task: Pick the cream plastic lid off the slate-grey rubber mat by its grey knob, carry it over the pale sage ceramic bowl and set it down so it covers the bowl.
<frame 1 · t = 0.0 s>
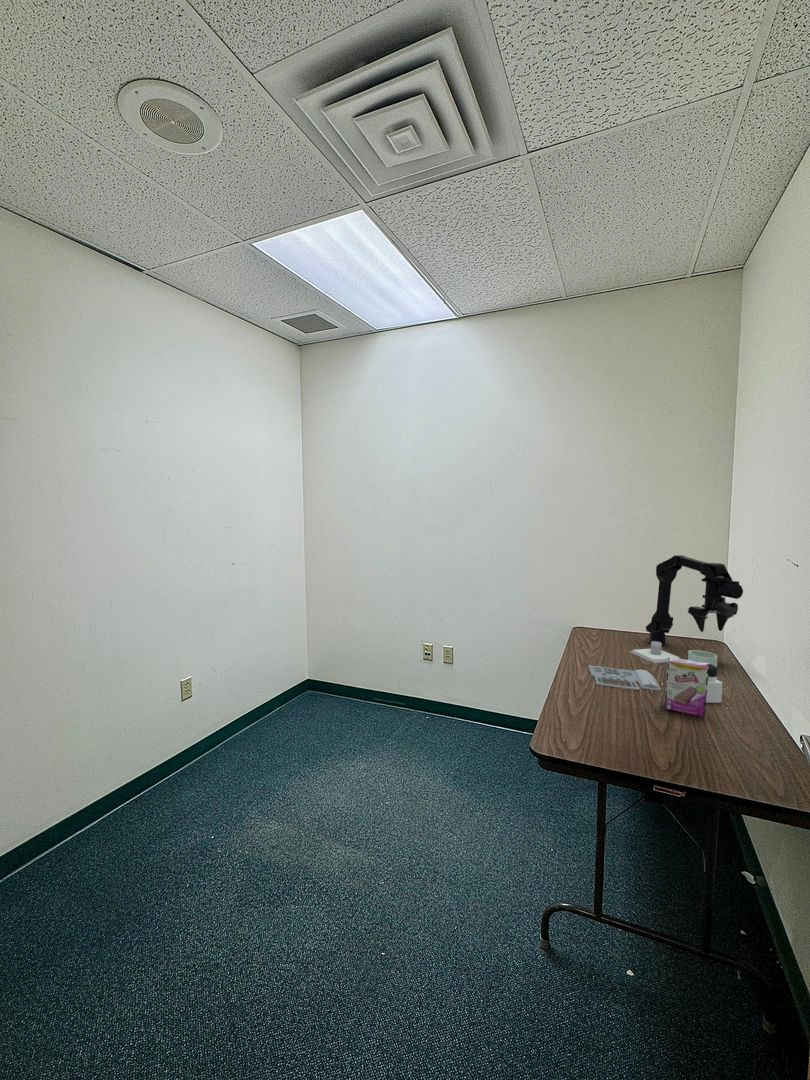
hand: (711, 631, 185), 15 cm above the table, fingers open, 9 cm apart
lid: (655, 655, 196), resting on mat
candy bar box: (684, 712, 144), on the table
bowl: (701, 665, 186), on the table
mat: (655, 657, 196), on the table
medicine bottle: (704, 699, 154), on the table
office telephone: (623, 681, 170), on the table
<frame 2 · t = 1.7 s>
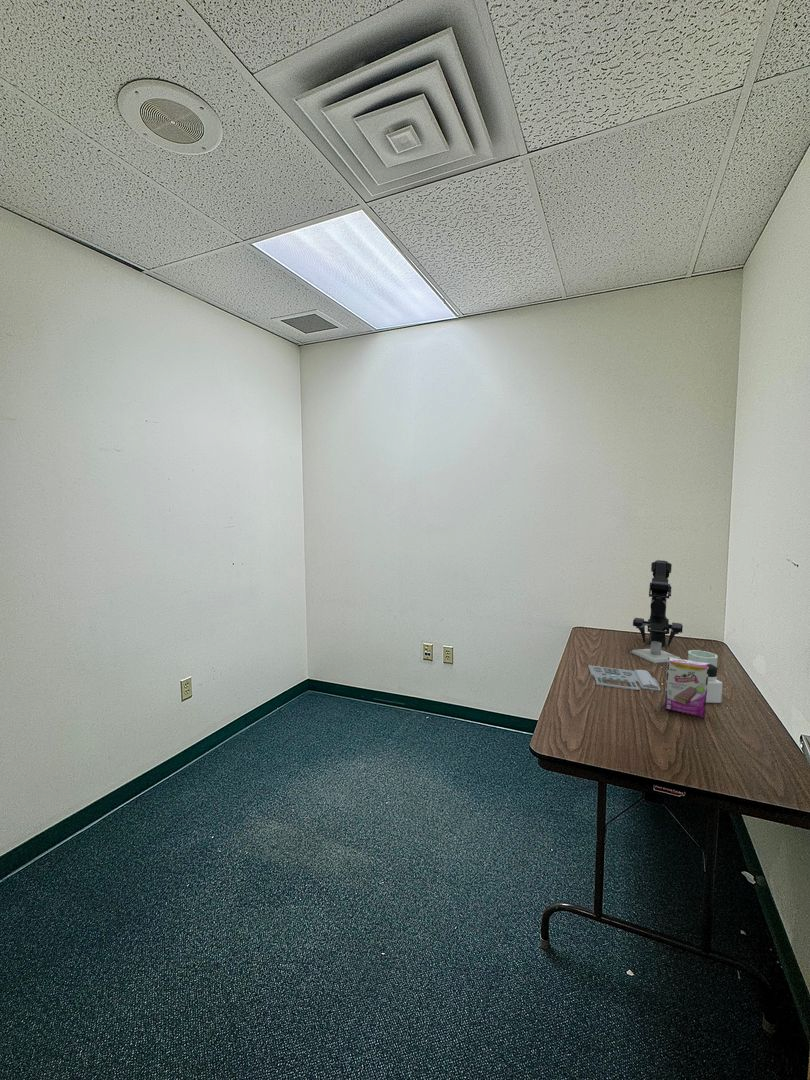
hand: (656, 644, 196), 6 cm above the table, fingers open, 9 cm apart
nothing on the table moved.
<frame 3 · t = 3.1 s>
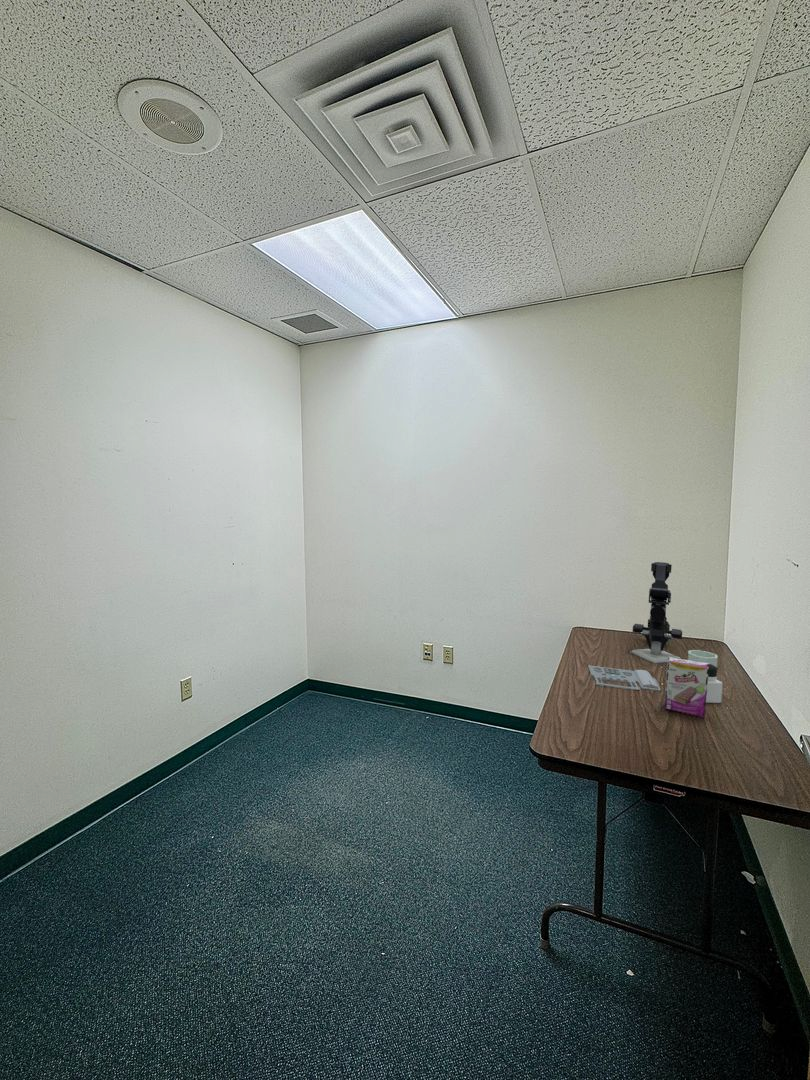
hand: (655, 650, 196), 3 cm above the table, fingers closed on lid, 4 cm apart
lid: (655, 655, 196), resting on mat, touching gripper
everything else where it was.
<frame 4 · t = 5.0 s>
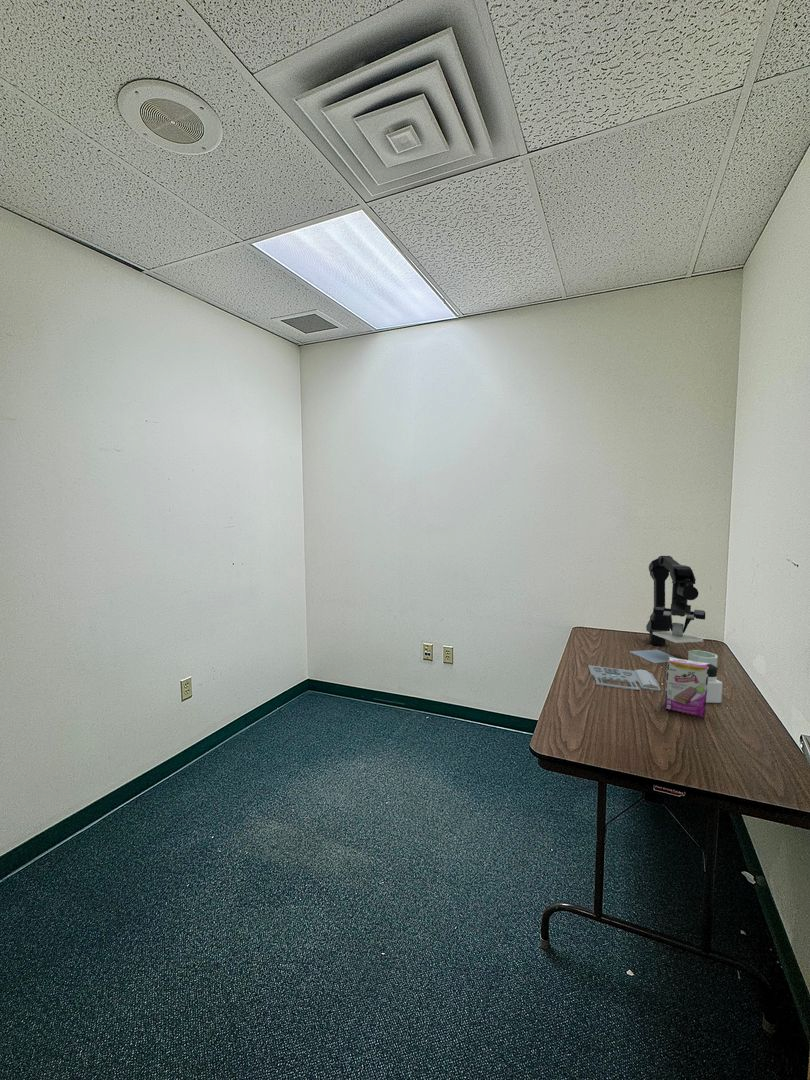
hand: (677, 631, 190), 13 cm above the table, fingers closed on lid, 4 cm apart
lid: (677, 637, 190), point 10 cm above the table, touching gripper
everything else where it was.
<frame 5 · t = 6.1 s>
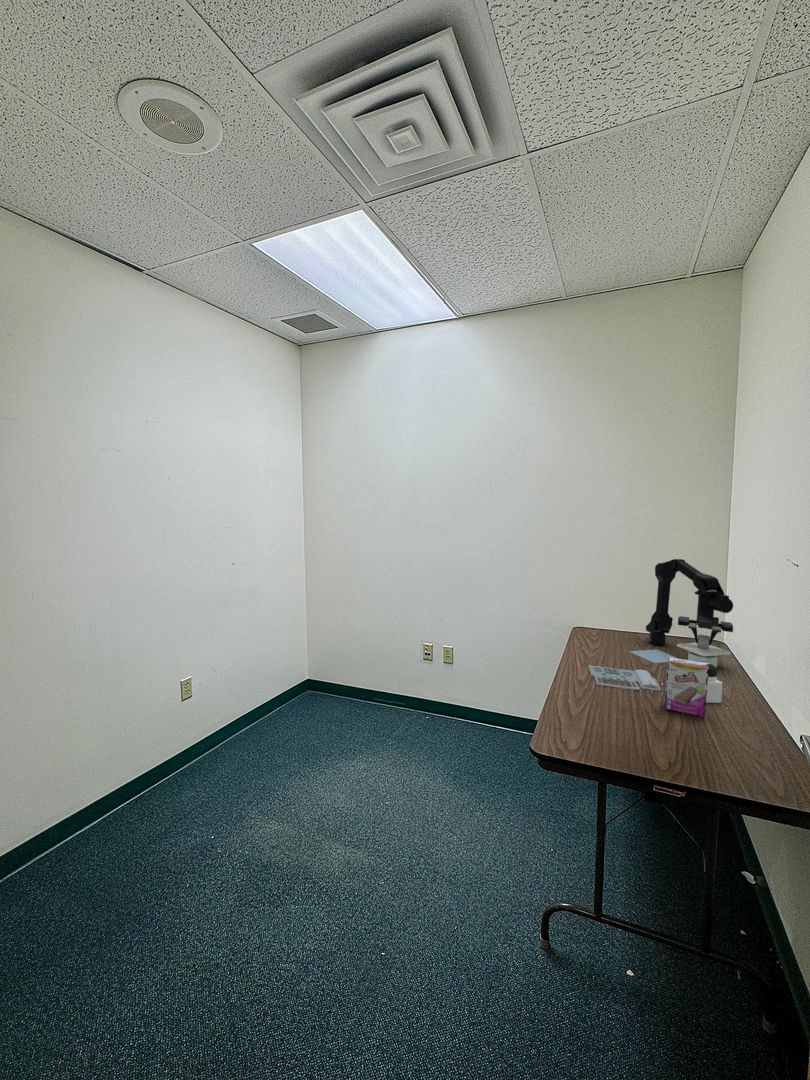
hand: (703, 644, 185), 9 cm above the table, fingers closed on lid, 4 cm apart
lid: (702, 650, 185), point 7 cm above the table, touching gripper
everything else where it was.
when the fingers open (9 cm above the table, at t = 6.8 s): lid drops 1 cm, resting on bowl.
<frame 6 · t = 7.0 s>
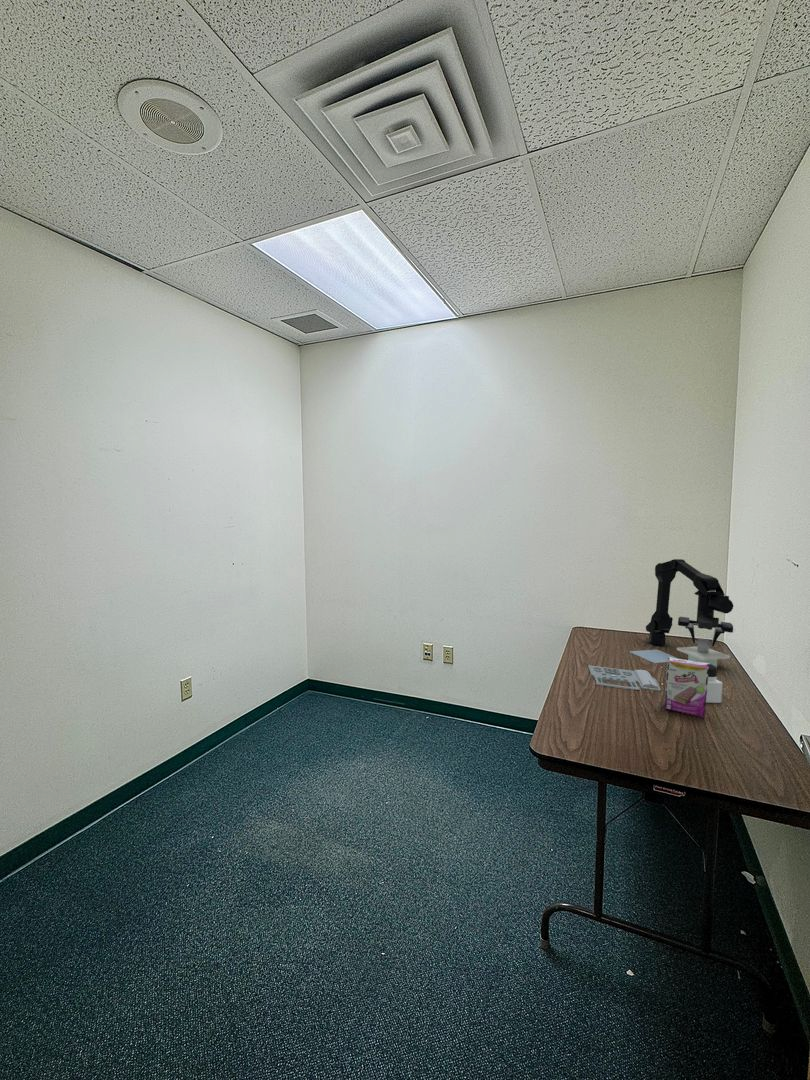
hand: (703, 644, 185), 9 cm above the table, fingers open, 6 cm apart
lid: (702, 654, 185), point 5 cm above the table, touching bowl
everything else where it was.
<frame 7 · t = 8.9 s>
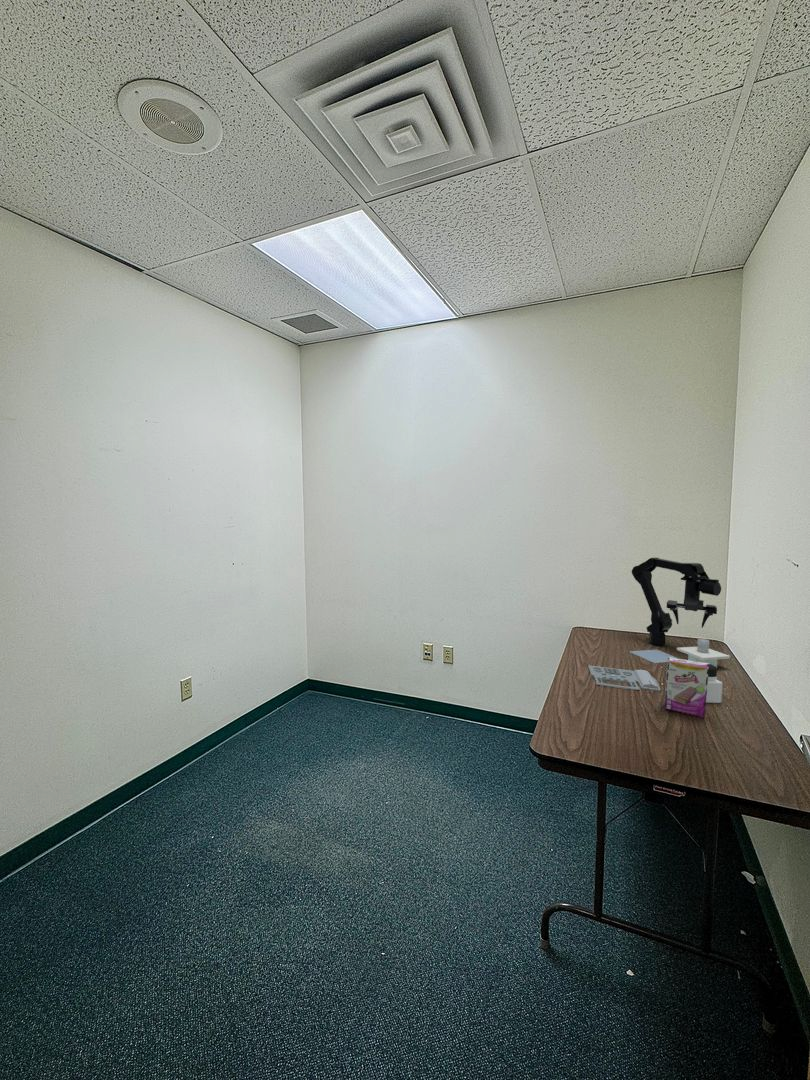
hand: (689, 625, 200), 13 cm above the table, fingers open, 9 cm apart
nothing on the table moved.
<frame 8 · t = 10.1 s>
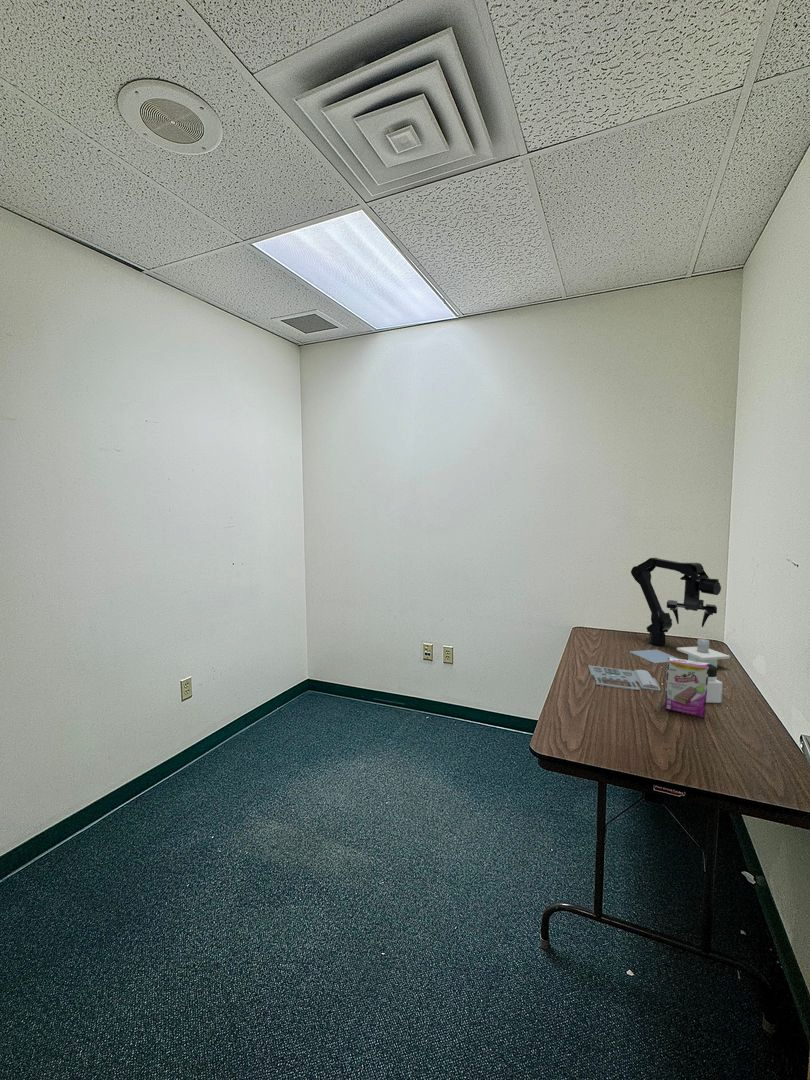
hand: (689, 625, 200), 13 cm above the table, fingers open, 9 cm apart
nothing on the table moved.
at the end: lid 0.1 cm off-centre on the bowl, point 5.0 cm above the bowl's base; lid tilted 0°; the gripper is holding nothing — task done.
